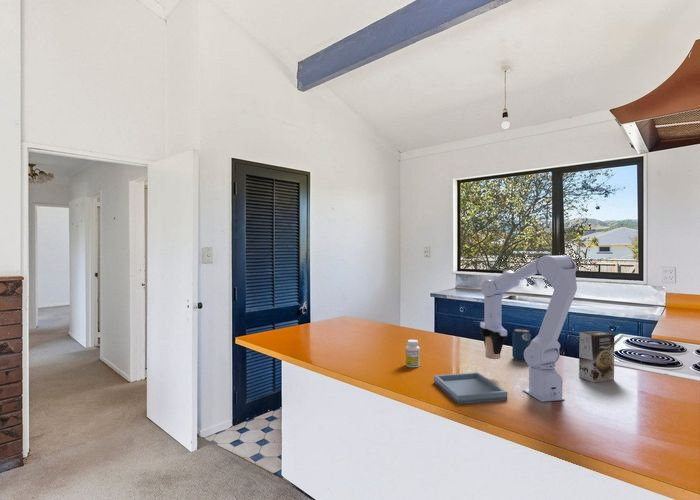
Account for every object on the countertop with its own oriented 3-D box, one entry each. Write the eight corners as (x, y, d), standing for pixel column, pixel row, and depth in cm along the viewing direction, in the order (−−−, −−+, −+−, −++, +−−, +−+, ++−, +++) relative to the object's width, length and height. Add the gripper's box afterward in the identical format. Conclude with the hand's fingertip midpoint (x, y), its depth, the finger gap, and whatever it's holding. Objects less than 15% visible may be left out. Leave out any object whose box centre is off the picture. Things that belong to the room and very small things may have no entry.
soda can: (532, 362, 153) (533, 332, 153) (514, 361, 155) (514, 331, 155) (528, 357, 160) (528, 328, 160) (510, 356, 162) (510, 327, 161)
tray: (507, 400, 117) (507, 391, 117) (457, 404, 114) (457, 395, 114) (477, 379, 135) (477, 372, 135) (434, 382, 132) (434, 375, 132)
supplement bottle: (410, 362, 154) (410, 338, 154) (422, 365, 151) (422, 340, 151) (403, 365, 150) (403, 341, 150) (415, 368, 147) (415, 343, 147)
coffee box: (594, 383, 131) (594, 335, 130) (578, 376, 137) (578, 331, 137) (615, 380, 133) (615, 333, 133) (598, 374, 139) (598, 329, 139)
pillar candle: (503, 358, 136) (503, 338, 135) (490, 359, 135) (490, 339, 135) (495, 354, 141) (495, 335, 140) (482, 355, 140) (482, 336, 140)
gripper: (472, 310, 144) (472, 346, 144) (493, 317, 130) (493, 358, 130) (490, 309, 145) (490, 345, 145) (512, 316, 131) (512, 356, 131)
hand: (492, 351), depth 138 cm, fingers closed on pillar candle, 5 cm apart
